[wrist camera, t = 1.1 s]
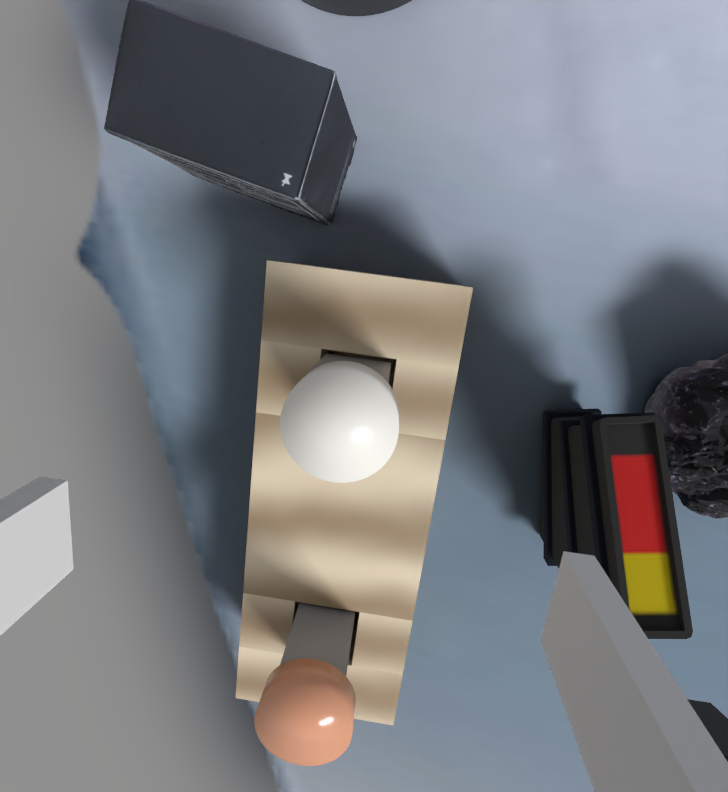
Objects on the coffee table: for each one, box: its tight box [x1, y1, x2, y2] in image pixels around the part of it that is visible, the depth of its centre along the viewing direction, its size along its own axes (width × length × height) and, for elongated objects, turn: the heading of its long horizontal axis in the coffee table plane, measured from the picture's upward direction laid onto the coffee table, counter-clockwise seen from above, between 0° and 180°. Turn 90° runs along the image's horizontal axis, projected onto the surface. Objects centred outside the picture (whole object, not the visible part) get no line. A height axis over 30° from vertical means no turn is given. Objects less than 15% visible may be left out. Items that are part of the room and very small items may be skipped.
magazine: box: [540, 409, 693, 639], centre depth 31 cm, size 4×13×15 cm, turn 4°
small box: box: [104, 0, 357, 225], centre depth 28 cm, size 11×6×10 cm, turn 71°
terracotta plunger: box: [255, 603, 356, 766], centre depth 31 cm, size 6×6×8 cm
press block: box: [236, 260, 473, 725], centre depth 35 cm, size 32×12×7 cm, turn 173°
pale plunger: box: [280, 353, 399, 483], centre depth 26 cm, size 6×6×8 cm
